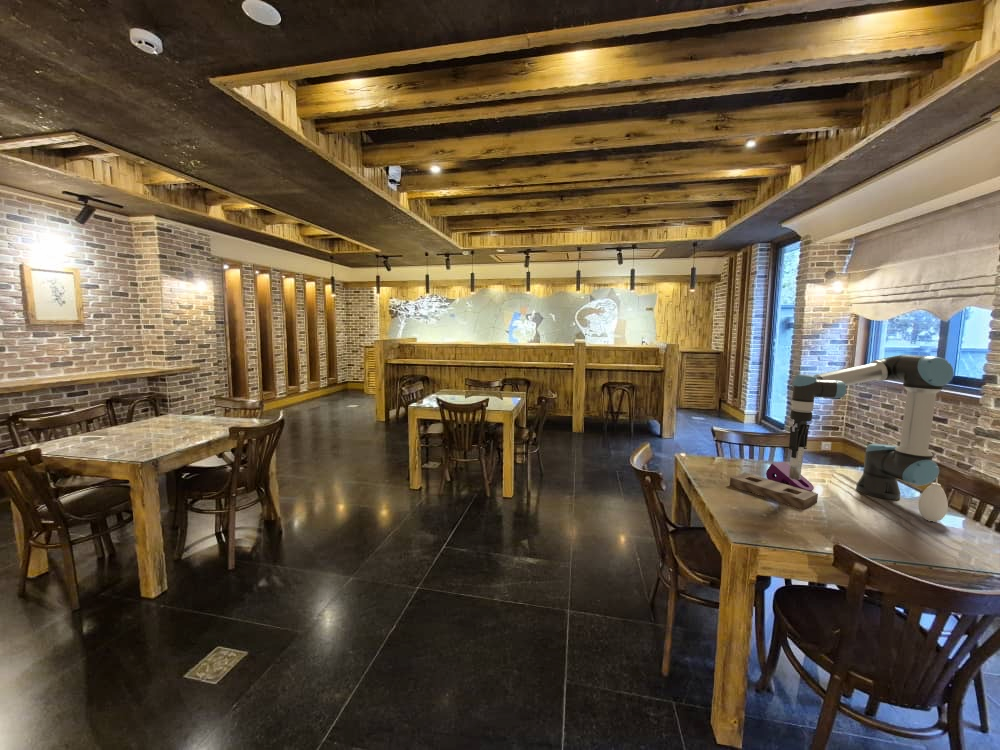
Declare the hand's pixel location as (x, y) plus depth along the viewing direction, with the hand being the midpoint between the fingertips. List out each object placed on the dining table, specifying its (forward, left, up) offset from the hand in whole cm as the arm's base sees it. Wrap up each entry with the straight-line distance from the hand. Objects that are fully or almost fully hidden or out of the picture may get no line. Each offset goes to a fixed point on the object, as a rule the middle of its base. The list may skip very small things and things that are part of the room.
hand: (796, 464), depth 178 cm
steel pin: (0, 0, -6) cm, 6 cm away
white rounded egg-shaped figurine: (-38, -27, -16) cm, 49 cm away
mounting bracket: (+8, -19, -17) cm, 27 cm away
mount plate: (+8, 0, -16) cm, 18 cm away
